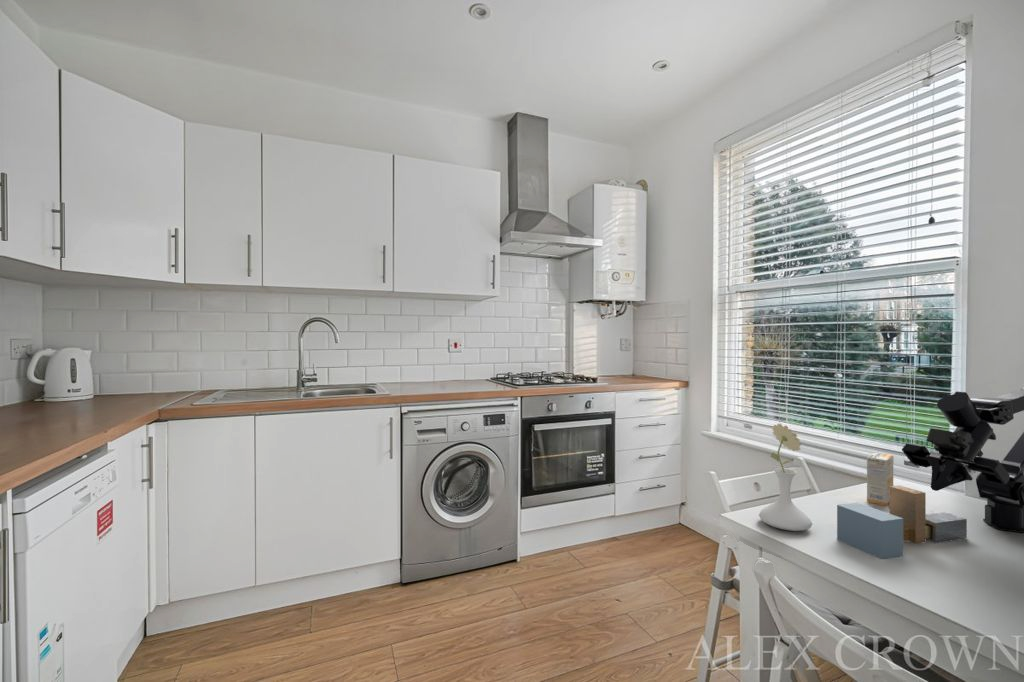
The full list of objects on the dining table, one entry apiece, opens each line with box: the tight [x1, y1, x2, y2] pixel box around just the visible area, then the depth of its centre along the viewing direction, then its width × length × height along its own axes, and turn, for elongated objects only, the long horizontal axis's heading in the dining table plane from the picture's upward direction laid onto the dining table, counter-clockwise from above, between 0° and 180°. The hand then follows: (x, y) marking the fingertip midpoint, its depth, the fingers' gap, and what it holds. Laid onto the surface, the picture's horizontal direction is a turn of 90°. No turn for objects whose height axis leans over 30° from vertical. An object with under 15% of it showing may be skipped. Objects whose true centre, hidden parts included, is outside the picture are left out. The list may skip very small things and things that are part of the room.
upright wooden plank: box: [889, 484, 933, 544], centre depth 105 cm, size 20×6×11 cm, turn 105°
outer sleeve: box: [925, 511, 968, 544], centre depth 107 cm, size 10×4×5 cm, turn 105°
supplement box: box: [866, 452, 894, 507], centre depth 132 cm, size 8×5×13 cm, turn 130°
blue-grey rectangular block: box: [836, 502, 904, 560], centre depth 102 cm, size 6×10×8 cm, turn 15°
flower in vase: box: [758, 423, 813, 532], centre depth 114 cm, size 13×11×25 cm
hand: (933, 489), depth 107 cm, fingers closed
